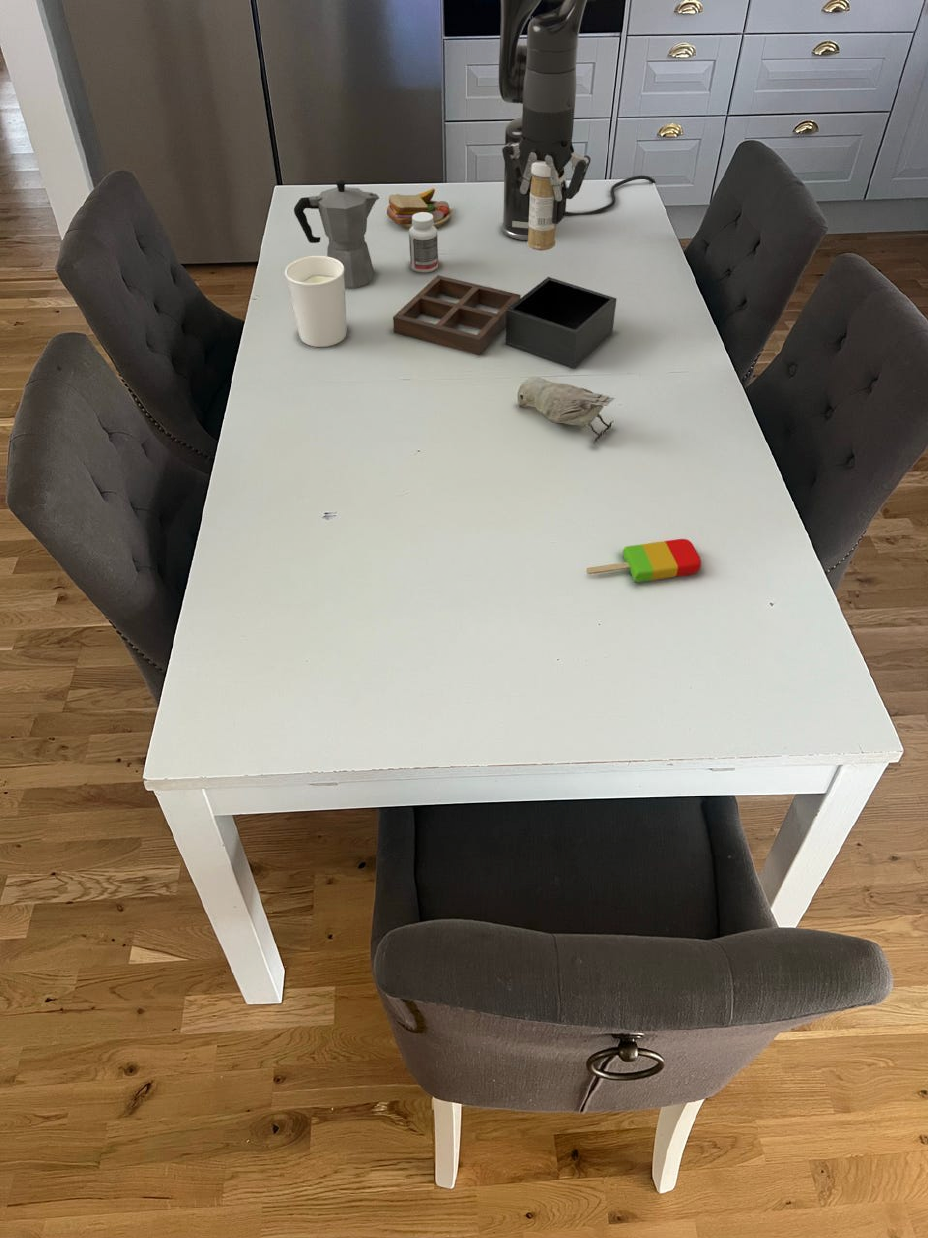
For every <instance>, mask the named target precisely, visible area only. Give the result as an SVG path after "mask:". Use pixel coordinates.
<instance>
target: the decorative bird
mask: <svg viewBox="0 0 928 1238" xmlns="http://www.w3.org/2000/svg"><path fill="white" fill-rule="evenodd" d="M614 400H615V397H610V396H609V395H604V394H602V393H597V392H596V393H595V392H593V391H591V390H589V389H587V388H584V387H579V386H576V385H572V384H569V383H560V382H553V381H549V380H546V379H544V378H540V377H536V376H535V377H530V378H529V377H528V378H527V379H525V380H524V381H523V382H522V383H521V385H520V386H519V389H518V391H517V403H518V406H519V407H525V406H526V407H527V406H531V407H535V408H536V410H538V411H539V413H541V414H543V415H544V416H545V417H546V418H547V419H548V420H549V421H551V422H552V423H555V424H559V423H562V424H564V425H570V426H577V427H585V426H587V427H589V428H590V429H591V431H592V432H593V433H594V434H595V435H596V436H597V437H596V438H595V439H594V441H593V444H595V443H597V442H598V440H600V439H601V437H602V436H603V435H604V434H606V432H607V431H608V430H610V428H611V427H612V424H613V423H614V421H615V420H612V421H610V422H609V424H608V423H606V422H605V421H604V419H603V417H602V415H601V414H600V413H601V411H602V410H603V409H604V407H608V405H609V404H610V403H611V402H613V401H614ZM596 418H598V419H599V420H600V422H601V423H602V424H603V425H604V426H605V427H606V428H605V429H603V430H601V432H597V431H596V430H595V429H594V426H593V425H592V422H593V421H595V419H596Z"/></svg>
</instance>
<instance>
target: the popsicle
mask: <svg viewBox="0 0 928 1238" xmlns="http://www.w3.org/2000/svg"><path fill="white" fill-rule="evenodd" d="M622 557H623V558H624V562H617V563H610V564H604V565H597V566H591V567H587V568H586V573H587V574H588V575H593V574H600V573H601V574H602V573H607V572H616V571H621V570H629V572H630V574H631V577H632V578H633V581H634V583H642V582H649V581H650V582H651V581H656V580H657V581H658V580H662V579H663V580H664V579H671V578H675V577H683V576H691V575H694V574H697V573H698V572H699V571H700V569H701V565H702V560H701V557H700V555H699V553H698V552H697V549H696V548H695V546H694V544H693V542H692V541H691V540H689V539H687V538H677V539H669V540H663V541H655V542H648V543H642V544H636V545H627V546H625V547H624V548H623V550H622Z"/></svg>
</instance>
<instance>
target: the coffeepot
mask: <svg viewBox="0 0 928 1238" xmlns="http://www.w3.org/2000/svg"><path fill="white" fill-rule="evenodd" d="M335 184H336V187H334V188H329V189H326V190H323V191H321V192H320V193H319V195H312V196H311V195H310V196H307V197H306V196H305V197H300V198H299V200H298V201H297V203H296V204H295V206H294V207H293V213H294V215H295V218H296V219H297V221H298V223H299V225H300V227H301V229H302V231H303V234H304V235H305V237H306V240H307V241H308V243H310V244H317V243H320V242H321V236H314V235H313V230H312V227H311V225H310V224H309V222H308V218H307V215H306V213H305V212H304V211H305V209H312V210H318V212H319V217H320V220H321V224H322V227H323V231H324V234H325V237H327V238H328V245H327V253H326V257H331V258H334V259H337V260H338V261H340V262H341V263H342V264H343V266H344V280H345V289H357V288H360V287H363V286H366V285H368V284H370V283H371V281H372V280H373V279H374V275H375V269H374V266H373V261H372V258H371V254H370V250H369V246H368V243H367V242H366V238H365V236H366V233H367V228H368V218H369V215H370V213H371V212H372V209H373V207H374V206H375V204H376V202H377V201H378V200H379V199H380V196H379V195H378V193H373V192H372V191H371V192H370V191H363V190H362V189H360V188H359V187H347V186H346V180H344V179H337V180H336V181H335Z"/></svg>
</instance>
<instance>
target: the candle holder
mask: <svg viewBox="0 0 928 1238" xmlns="http://www.w3.org/2000/svg"><path fill="white" fill-rule="evenodd" d="M284 275H285V278H286V283H287V287H288V293H289V296H290V302H291V305H292V310H293V313H294V314H293V315H294V319H295V324H296V328H297V331H298V332H297V333H298V335H299V338H300V340H301V341H302V343H304V344H306V345H308V346H311V347H314V348H315V347H316V348H326V347H331V346H334V345H337V344H339V343H340V342H342V341H344V339H345V338H346V336H347V335H348V334H347V331H348V326H347V307H346V306H347V303H346V302H347V301H346V288H345V280H344V266H343V264H342V263H341V262H340V261H338V260H337V259H334V258H331V257H327V255H309V256H305V257H301V258H298V259H296V260H294V261H292V262H291V263H289V264H287V266H286V268H285V270H284Z"/></svg>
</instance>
